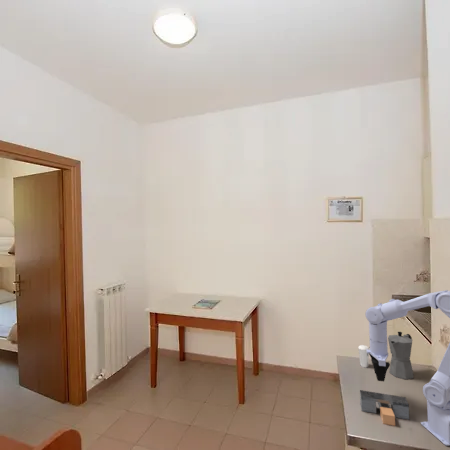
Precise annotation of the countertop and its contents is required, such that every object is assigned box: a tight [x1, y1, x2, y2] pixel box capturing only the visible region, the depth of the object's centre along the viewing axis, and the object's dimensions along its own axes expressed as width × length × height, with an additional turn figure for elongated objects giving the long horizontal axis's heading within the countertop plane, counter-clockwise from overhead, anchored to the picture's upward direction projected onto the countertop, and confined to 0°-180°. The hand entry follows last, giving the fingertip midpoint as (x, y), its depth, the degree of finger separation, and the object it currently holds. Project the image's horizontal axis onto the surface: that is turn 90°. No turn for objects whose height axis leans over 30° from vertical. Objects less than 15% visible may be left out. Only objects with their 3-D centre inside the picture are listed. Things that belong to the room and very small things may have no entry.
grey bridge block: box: [359, 389, 410, 421], centre depth 95 cm, size 4×14×5 cm, turn 70°
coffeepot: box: [387, 331, 414, 380], centre depth 120 cm, size 15×9×18 cm, turn 121°
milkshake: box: [357, 344, 370, 369], centre depth 127 cm, size 4×5×10 cm
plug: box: [377, 402, 396, 427], centre depth 94 cm, size 12×3×3 cm, turn 162°
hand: (379, 377), depth 101 cm, fingers open, 4 cm apart
